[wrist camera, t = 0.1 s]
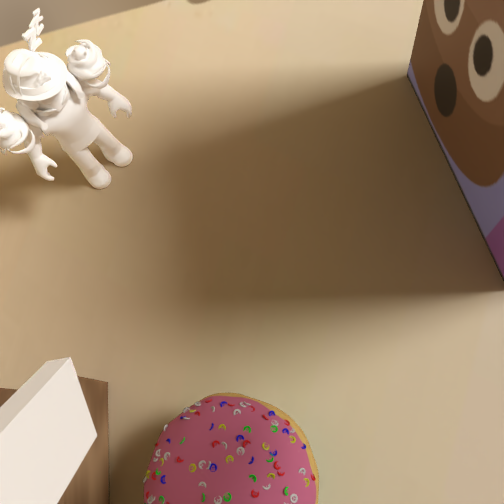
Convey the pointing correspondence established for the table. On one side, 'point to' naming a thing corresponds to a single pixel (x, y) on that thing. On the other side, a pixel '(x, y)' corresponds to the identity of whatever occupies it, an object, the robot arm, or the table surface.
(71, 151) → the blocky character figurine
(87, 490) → the brown flat block
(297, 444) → the cupcake
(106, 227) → the table surface
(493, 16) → the cereal box
